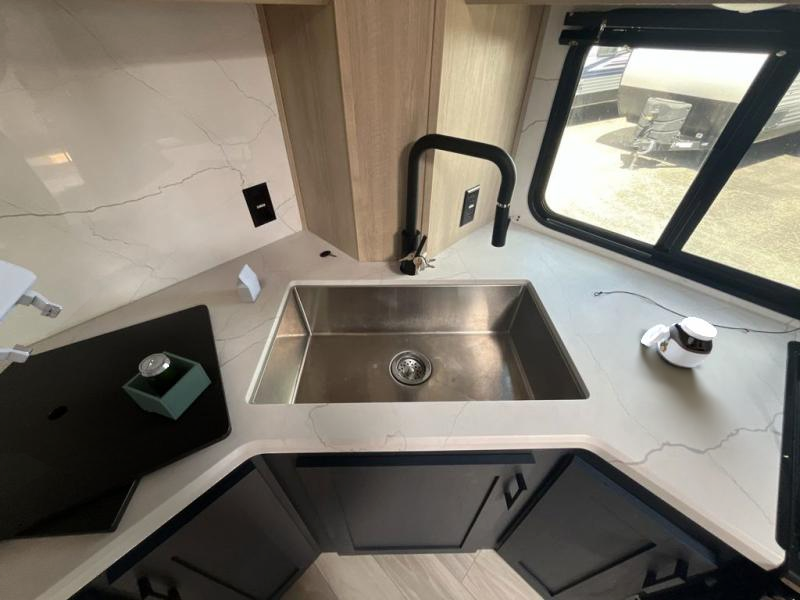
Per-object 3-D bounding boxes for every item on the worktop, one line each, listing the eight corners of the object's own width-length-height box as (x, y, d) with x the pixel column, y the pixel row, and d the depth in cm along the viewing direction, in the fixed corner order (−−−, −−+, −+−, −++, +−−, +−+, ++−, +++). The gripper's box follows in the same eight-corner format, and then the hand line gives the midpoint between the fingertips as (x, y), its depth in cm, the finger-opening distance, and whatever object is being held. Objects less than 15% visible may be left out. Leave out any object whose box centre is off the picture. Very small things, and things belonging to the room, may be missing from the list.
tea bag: (260, 289, 105) (252, 263, 98) (254, 302, 100) (244, 276, 93) (249, 288, 105) (240, 263, 98) (242, 302, 100) (231, 276, 93)
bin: (178, 423, 69) (160, 401, 64) (142, 409, 72) (121, 387, 66) (213, 385, 77) (199, 363, 71) (179, 373, 79) (164, 351, 74)
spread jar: (697, 374, 83) (729, 344, 75) (650, 366, 84) (676, 336, 77) (677, 340, 92) (703, 310, 84) (634, 333, 93) (656, 303, 86)
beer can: (184, 405, 72) (159, 373, 64) (159, 406, 72) (131, 374, 64) (194, 385, 76) (172, 352, 68) (171, 385, 76) (146, 353, 68)
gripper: (-186, 336, 31) (14, 373, 40) (-43, 237, 46) (80, 280, 55) (-197, 375, 33) (-3, 403, 42) (-56, 267, 48) (66, 304, 57)
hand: (45, 332), depth 49 cm, fingers open, 8 cm apart
